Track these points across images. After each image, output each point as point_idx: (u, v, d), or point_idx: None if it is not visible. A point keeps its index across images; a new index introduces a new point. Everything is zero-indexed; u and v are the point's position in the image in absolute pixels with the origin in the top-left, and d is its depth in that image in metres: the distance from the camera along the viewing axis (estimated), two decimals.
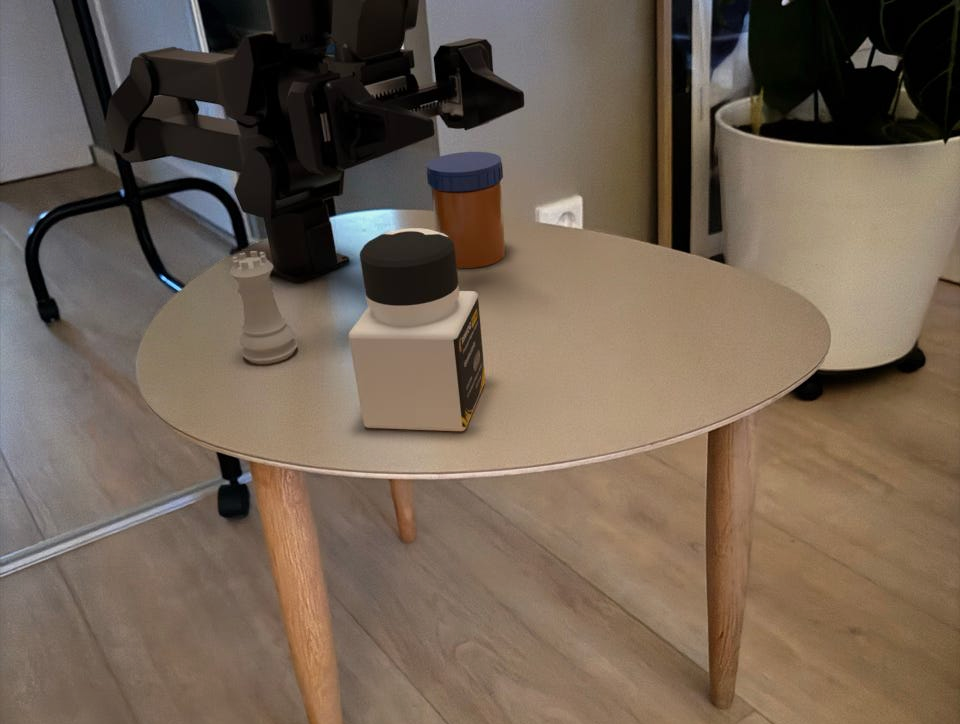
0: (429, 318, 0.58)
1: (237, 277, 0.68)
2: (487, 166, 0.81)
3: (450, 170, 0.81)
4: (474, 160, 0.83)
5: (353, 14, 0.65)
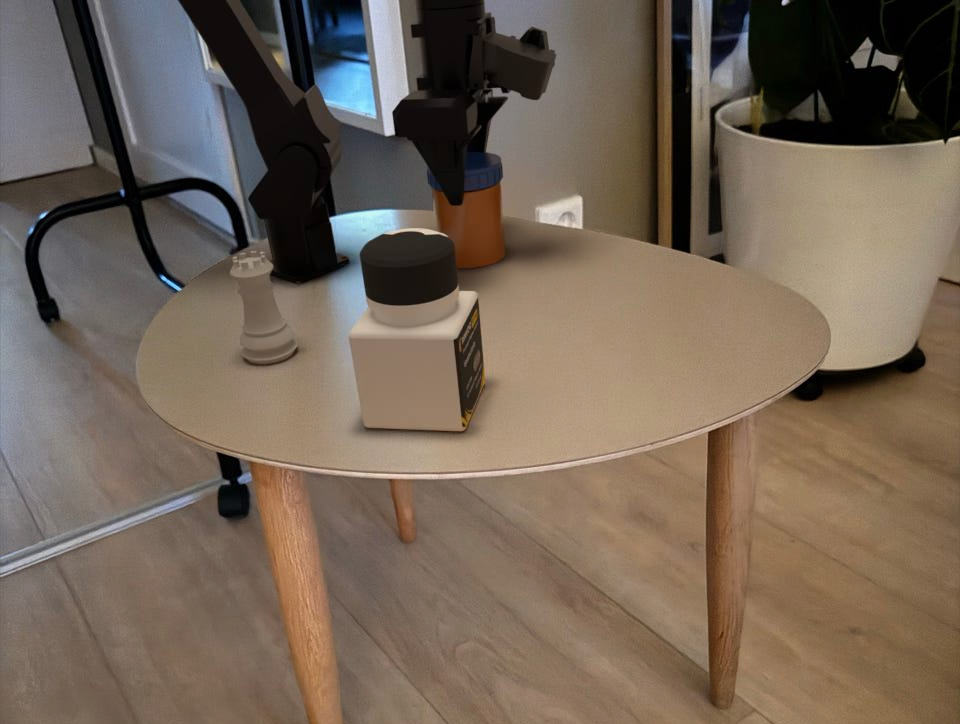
0: (429, 318, 0.58)
1: (237, 277, 0.68)
2: (487, 166, 0.81)
3: None
4: (474, 160, 0.83)
5: (523, 86, 0.76)
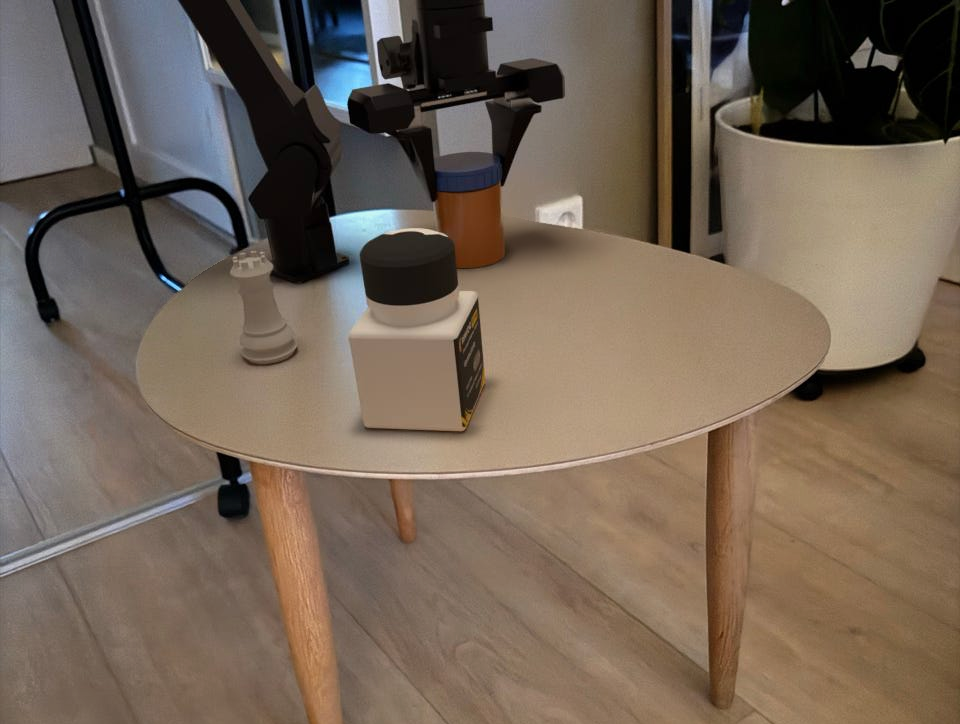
0: (428, 318, 0.58)
1: (237, 277, 0.68)
2: (467, 152, 0.86)
3: (492, 157, 0.84)
4: (455, 160, 0.84)
5: None
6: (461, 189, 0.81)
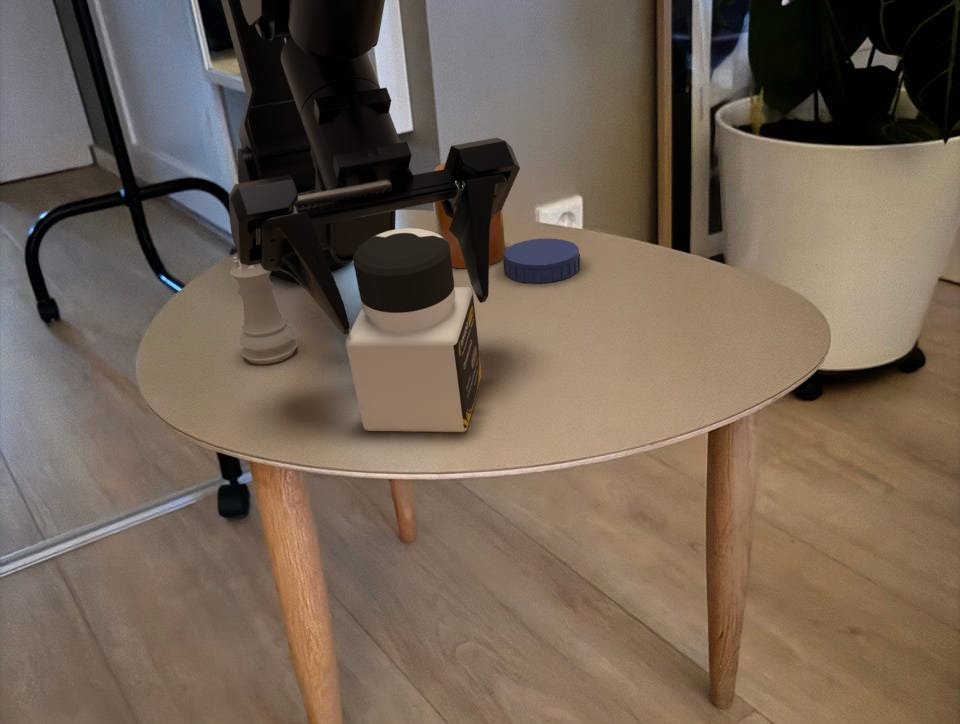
0: (426, 323, 0.57)
1: (237, 277, 0.68)
2: (537, 239, 0.85)
3: (568, 244, 0.84)
4: (532, 249, 0.83)
5: None
6: (547, 280, 0.81)
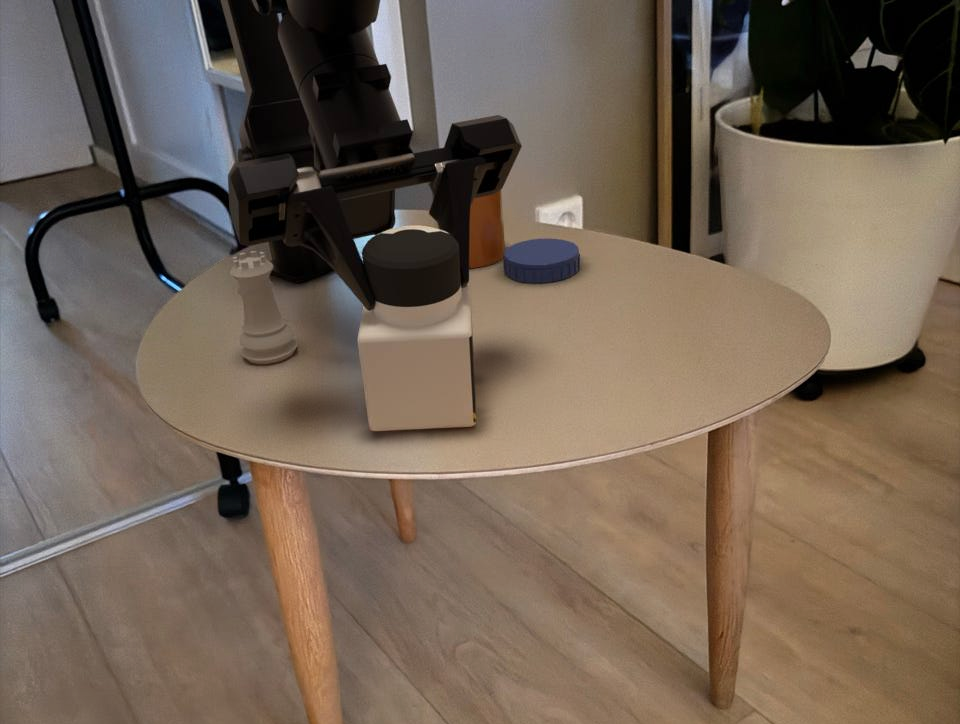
0: (439, 317, 0.57)
1: (237, 277, 0.68)
2: (537, 239, 0.85)
3: (568, 244, 0.84)
4: (532, 249, 0.83)
5: None
6: (547, 280, 0.81)
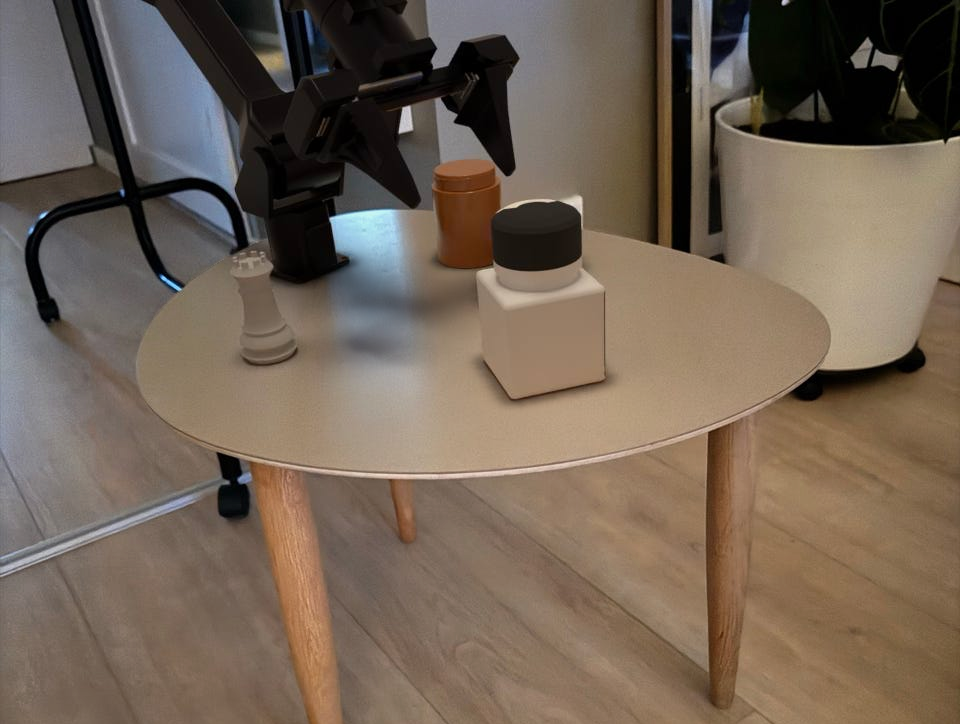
0: (571, 278, 0.61)
1: (237, 277, 0.68)
2: None
3: None
4: None
5: None
6: None
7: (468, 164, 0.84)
